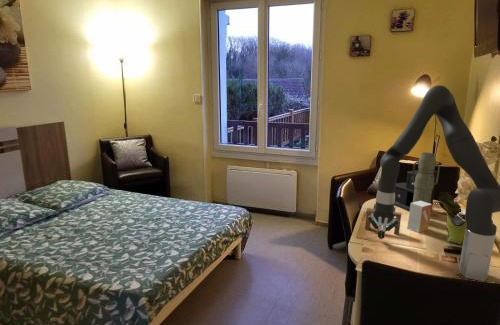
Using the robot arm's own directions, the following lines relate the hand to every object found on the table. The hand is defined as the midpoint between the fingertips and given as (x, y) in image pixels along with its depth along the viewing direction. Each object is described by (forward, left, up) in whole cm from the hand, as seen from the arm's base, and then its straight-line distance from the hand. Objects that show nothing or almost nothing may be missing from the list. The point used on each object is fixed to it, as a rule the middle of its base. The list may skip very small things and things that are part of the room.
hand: (380, 238), depth 160 cm
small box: (+23, -16, -2) cm, 28 cm away
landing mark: (+27, 0, -2) cm, 27 cm away
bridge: (+13, 0, -2) cm, 13 cm away
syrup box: (+15, -31, -2) cm, 34 cm away
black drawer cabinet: (+56, -12, -2) cm, 57 cm away
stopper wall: (+42, 0, -2) cm, 42 cm away
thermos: (+36, -17, -2) cm, 40 cm away
